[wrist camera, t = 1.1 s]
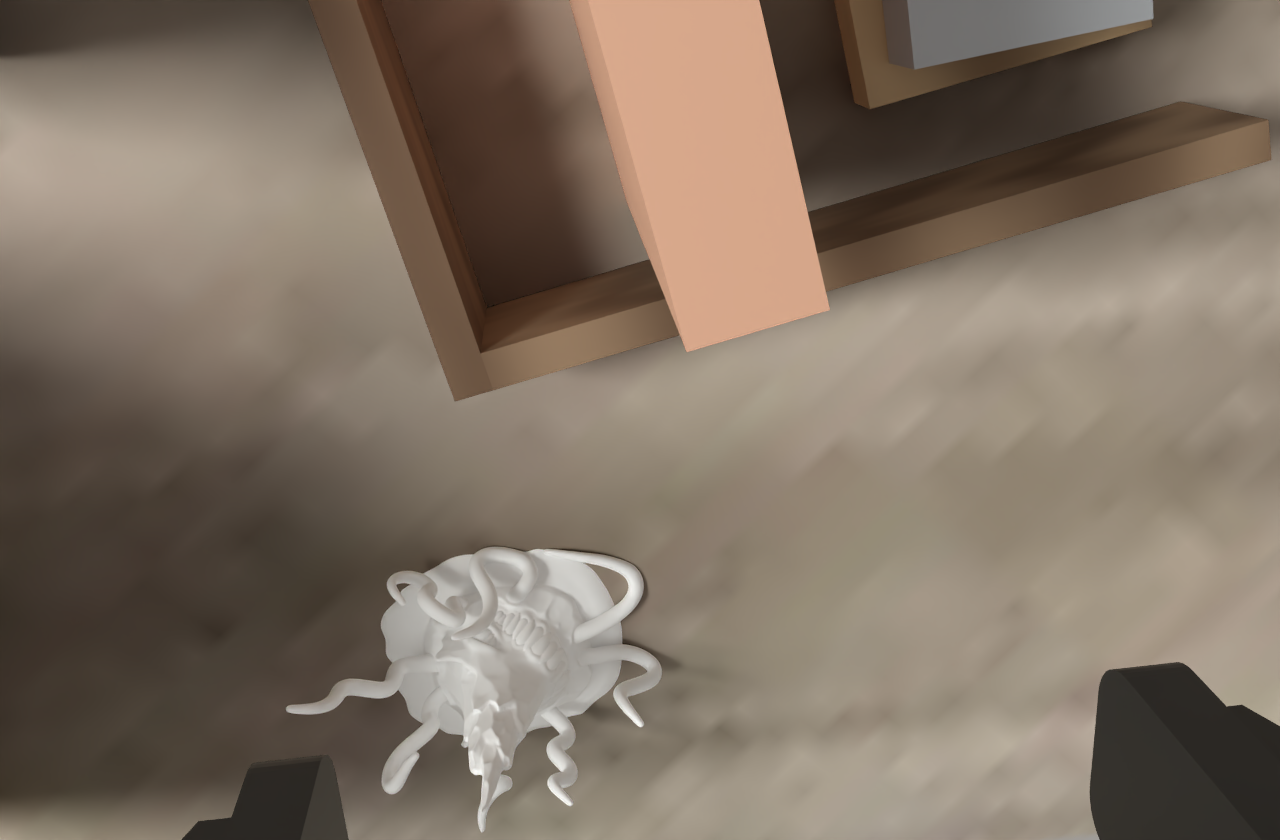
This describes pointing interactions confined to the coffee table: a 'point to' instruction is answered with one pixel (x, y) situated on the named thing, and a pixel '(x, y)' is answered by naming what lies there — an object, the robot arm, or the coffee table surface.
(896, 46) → the offcut top
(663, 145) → the salmon orange rectangular slab
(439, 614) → the white tentacle figurine
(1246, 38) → the coffee table surface
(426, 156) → the wooden tray
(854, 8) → the offcut bottom
